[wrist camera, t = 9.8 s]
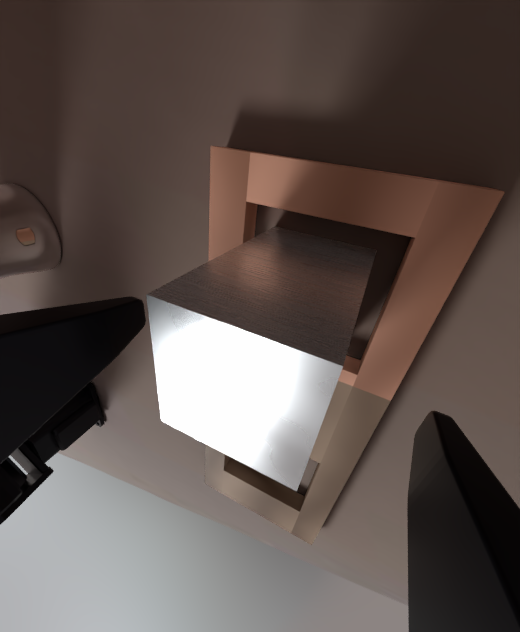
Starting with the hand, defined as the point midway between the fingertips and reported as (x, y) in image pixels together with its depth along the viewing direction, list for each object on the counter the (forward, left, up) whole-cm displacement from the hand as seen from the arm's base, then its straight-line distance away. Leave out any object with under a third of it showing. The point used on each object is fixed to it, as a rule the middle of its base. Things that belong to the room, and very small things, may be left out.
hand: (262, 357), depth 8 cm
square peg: (0, 0, -6) cm, 6 cm away
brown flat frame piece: (0, -8, -6) cm, 10 cm away
